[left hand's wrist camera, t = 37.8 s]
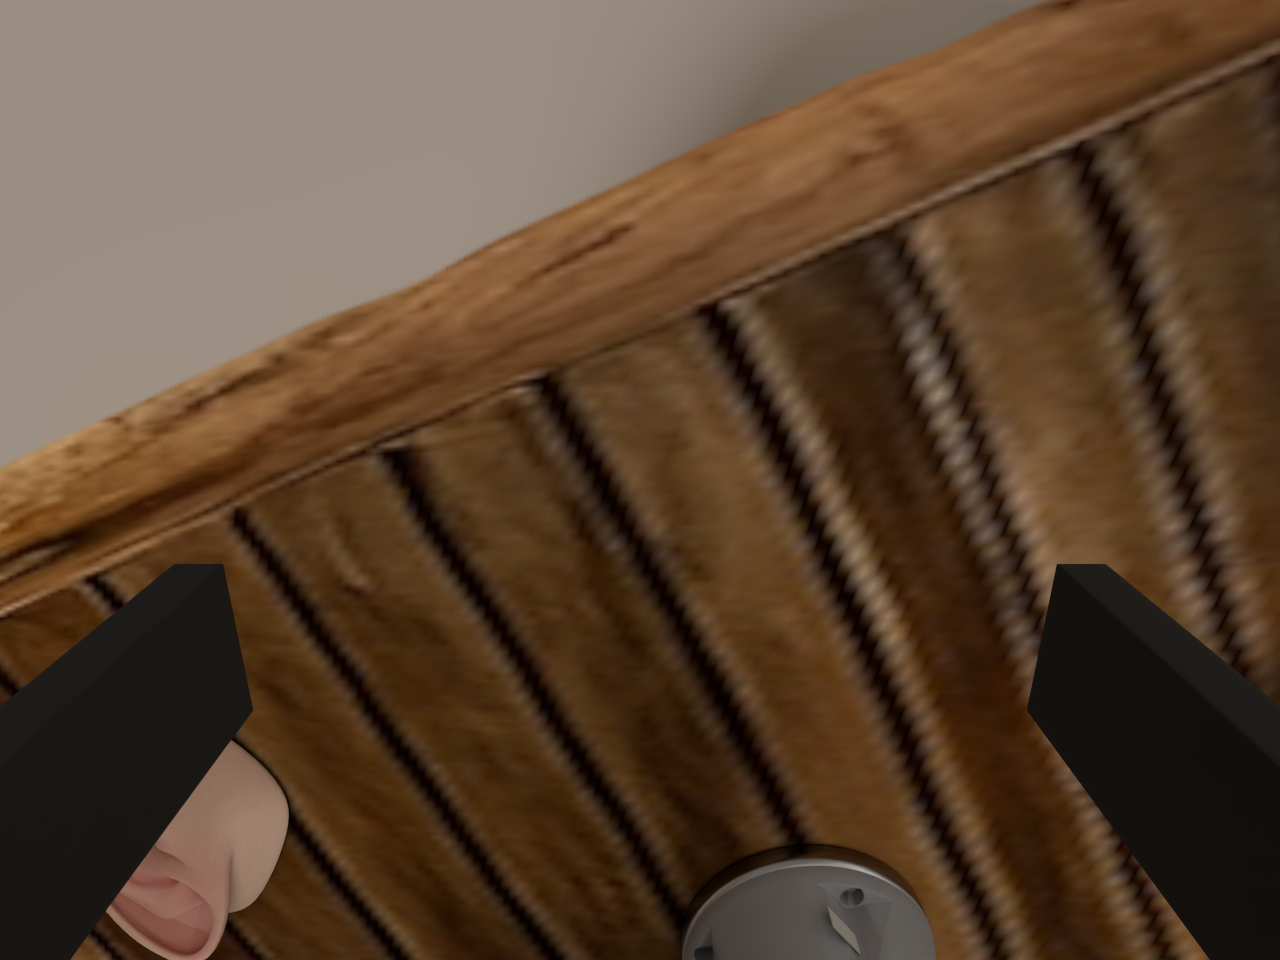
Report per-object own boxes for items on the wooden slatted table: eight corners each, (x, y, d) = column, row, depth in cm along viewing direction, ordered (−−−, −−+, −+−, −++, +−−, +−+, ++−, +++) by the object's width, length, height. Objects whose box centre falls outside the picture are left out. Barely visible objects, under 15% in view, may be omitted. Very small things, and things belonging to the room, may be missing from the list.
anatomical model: (95, 738, 39) (306, 839, 42) (142, 689, 43) (333, 785, 45) (7, 903, 43) (204, 987, 45) (57, 846, 47) (237, 926, 49)
